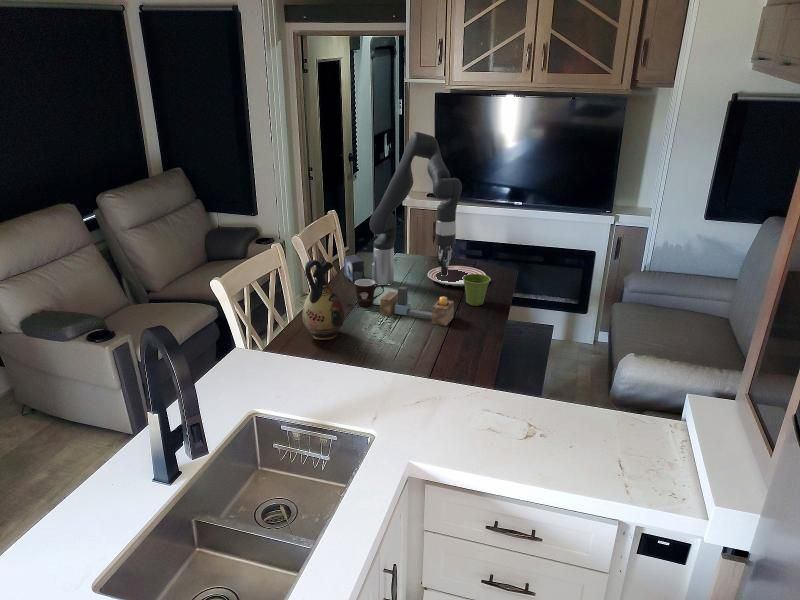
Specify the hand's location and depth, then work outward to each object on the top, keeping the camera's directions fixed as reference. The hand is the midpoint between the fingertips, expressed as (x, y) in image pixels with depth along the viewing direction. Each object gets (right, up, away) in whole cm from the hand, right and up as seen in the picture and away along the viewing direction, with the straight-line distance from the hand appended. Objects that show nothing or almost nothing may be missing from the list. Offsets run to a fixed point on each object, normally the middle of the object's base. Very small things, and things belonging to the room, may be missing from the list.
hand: (444, 275), depth 227 cm
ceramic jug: (-46, -23, -7) cm, 52 cm away
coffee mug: (-30, -12, +21) cm, 39 cm away
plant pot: (+15, -11, +24) cm, 31 cm away
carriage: (-16, -15, +13) cm, 26 cm away
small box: (-39, 0, +52) cm, 65 cm away
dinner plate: (+10, 0, +52) cm, 53 cm away
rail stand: (-10, -16, +11) cm, 22 cm away
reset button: (0, -12, +5) cm, 13 cm away
